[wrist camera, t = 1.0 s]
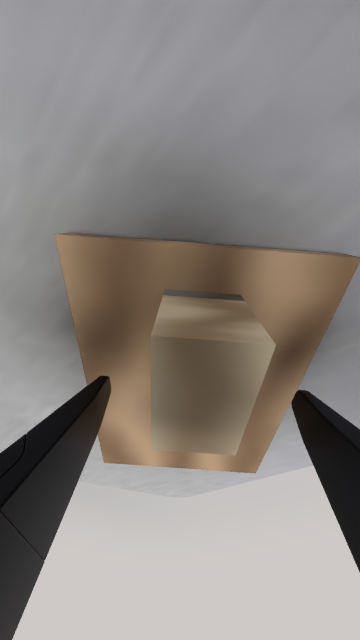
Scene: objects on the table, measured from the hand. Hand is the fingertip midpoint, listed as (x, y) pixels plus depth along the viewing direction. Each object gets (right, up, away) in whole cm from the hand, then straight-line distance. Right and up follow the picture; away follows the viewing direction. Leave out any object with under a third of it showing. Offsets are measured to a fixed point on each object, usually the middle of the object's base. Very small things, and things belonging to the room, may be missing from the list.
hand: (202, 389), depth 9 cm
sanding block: (0, +2, +4) cm, 4 cm away
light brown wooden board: (0, -2, +7) cm, 7 cm away
